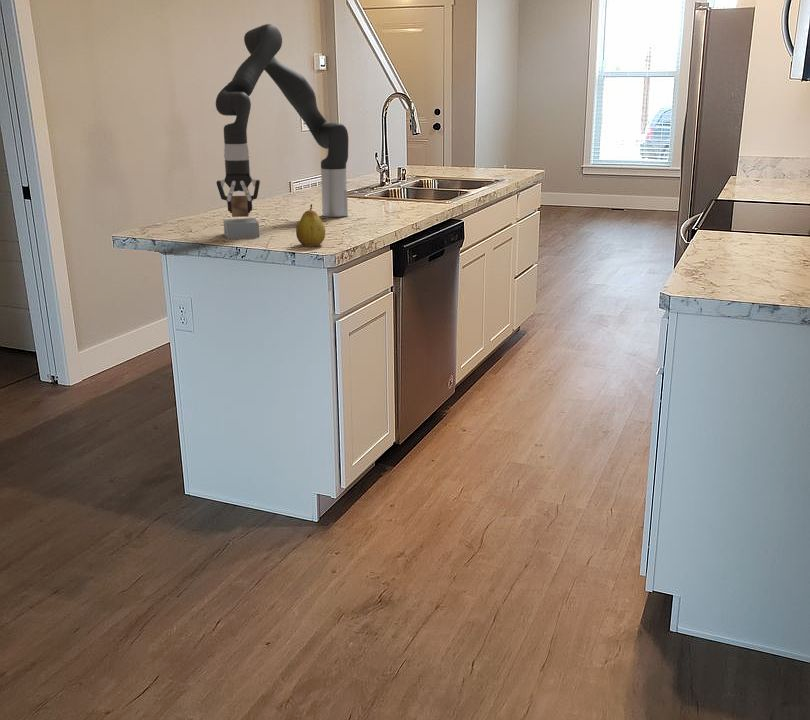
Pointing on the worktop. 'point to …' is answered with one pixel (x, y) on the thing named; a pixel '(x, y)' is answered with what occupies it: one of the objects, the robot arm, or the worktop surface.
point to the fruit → (310, 229)
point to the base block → (241, 228)
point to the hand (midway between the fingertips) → (240, 212)
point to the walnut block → (239, 206)
